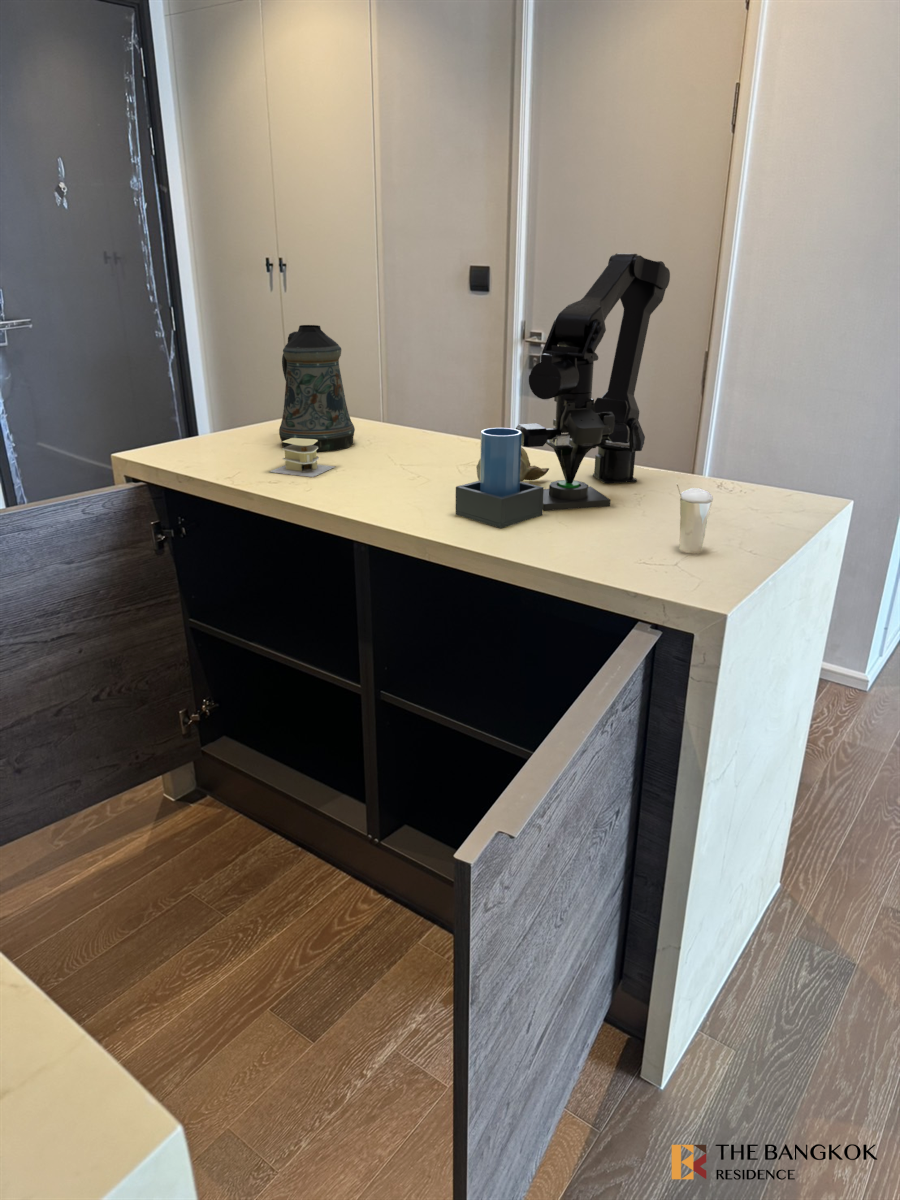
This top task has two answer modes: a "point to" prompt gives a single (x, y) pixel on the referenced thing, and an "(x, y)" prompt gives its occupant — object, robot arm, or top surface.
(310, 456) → the stacked layers on plate
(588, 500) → the panel
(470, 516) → the open square box
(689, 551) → the milkshake
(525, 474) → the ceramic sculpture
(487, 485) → the cup
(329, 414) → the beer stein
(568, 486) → the button
